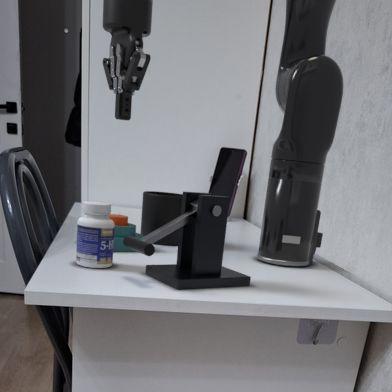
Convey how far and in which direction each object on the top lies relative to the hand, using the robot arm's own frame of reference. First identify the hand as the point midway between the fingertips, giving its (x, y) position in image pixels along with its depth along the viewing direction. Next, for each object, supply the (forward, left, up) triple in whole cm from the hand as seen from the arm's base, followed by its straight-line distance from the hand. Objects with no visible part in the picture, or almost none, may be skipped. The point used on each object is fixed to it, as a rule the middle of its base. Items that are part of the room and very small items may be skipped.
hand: (122, 119), depth 89 cm
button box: (0, 0, -21) cm, 21 cm away
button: (0, 0, -17) cm, 17 cm away
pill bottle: (+10, +14, -21) cm, 27 cm away
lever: (+3, +25, -14) cm, 29 cm away
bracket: (-1, +25, -21) cm, 33 cm away
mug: (-13, -7, -21) cm, 26 cm away
